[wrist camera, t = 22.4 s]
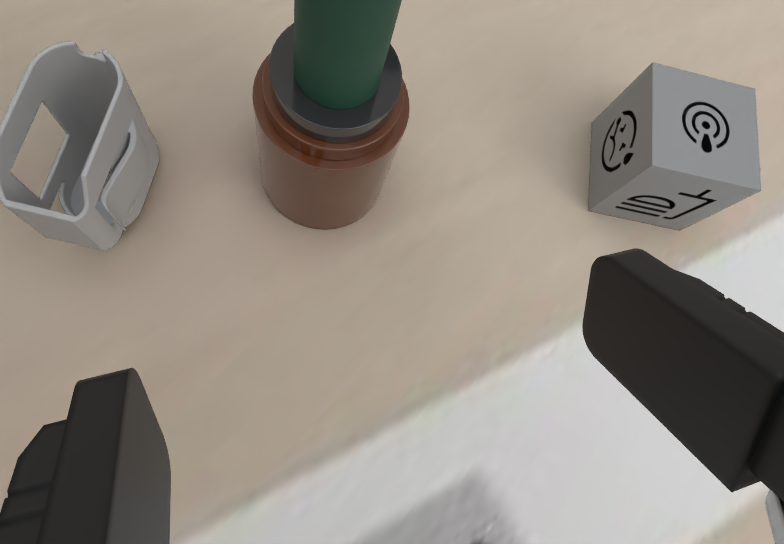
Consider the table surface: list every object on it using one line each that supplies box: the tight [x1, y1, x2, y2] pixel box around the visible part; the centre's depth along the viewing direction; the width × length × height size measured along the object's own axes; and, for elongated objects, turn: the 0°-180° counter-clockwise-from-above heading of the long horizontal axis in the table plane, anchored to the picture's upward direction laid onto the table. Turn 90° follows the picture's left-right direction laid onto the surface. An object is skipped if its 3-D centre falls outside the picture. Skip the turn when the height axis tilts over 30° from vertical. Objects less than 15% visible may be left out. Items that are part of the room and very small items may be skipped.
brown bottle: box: [253, 23, 409, 229], centre depth 43 cm, size 11×11×15 cm
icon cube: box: [588, 63, 761, 230], centre depth 51 cm, size 10×10×10 cm
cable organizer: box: [0, 41, 159, 251], centre depth 40 cm, size 7×12×12 cm, turn 169°
